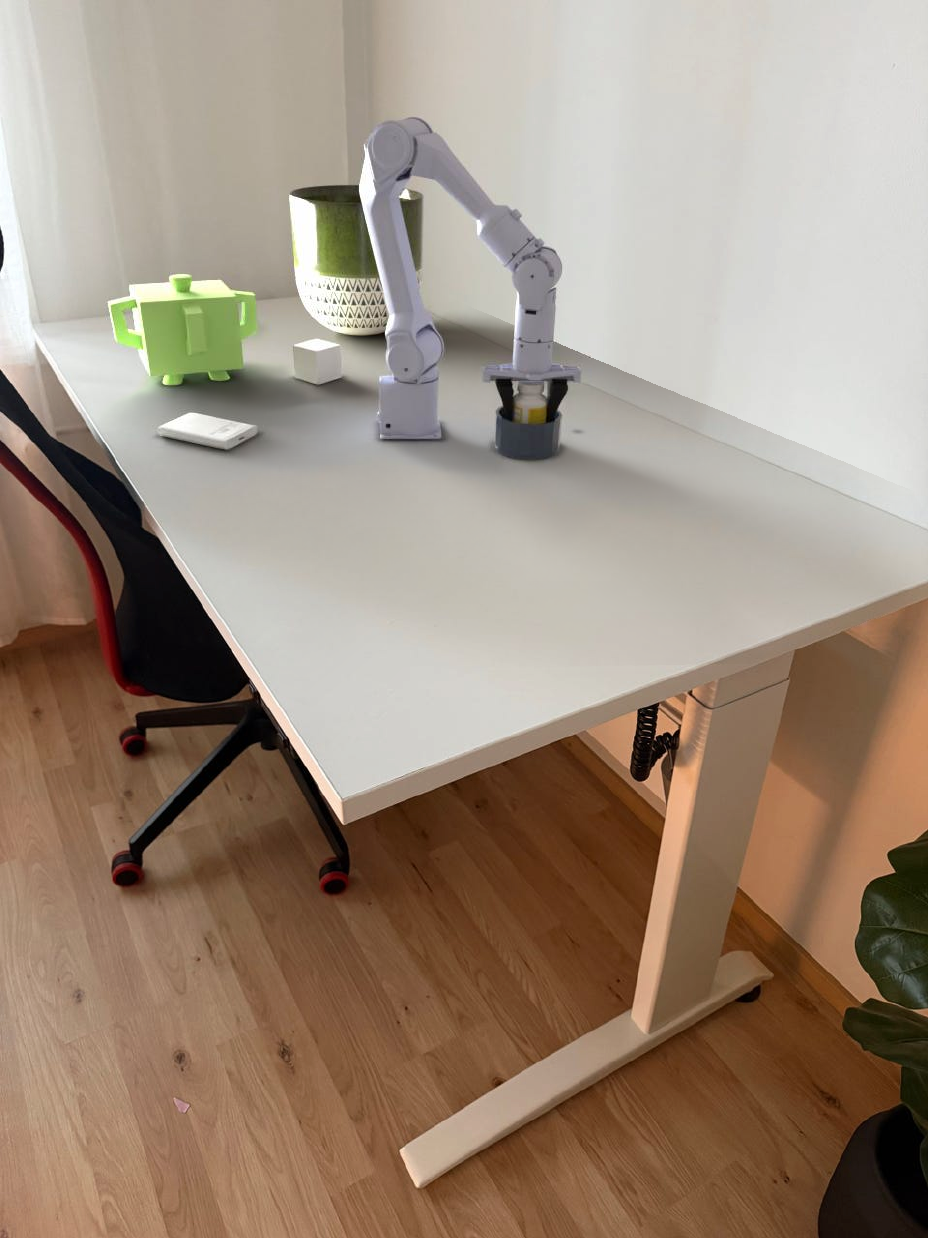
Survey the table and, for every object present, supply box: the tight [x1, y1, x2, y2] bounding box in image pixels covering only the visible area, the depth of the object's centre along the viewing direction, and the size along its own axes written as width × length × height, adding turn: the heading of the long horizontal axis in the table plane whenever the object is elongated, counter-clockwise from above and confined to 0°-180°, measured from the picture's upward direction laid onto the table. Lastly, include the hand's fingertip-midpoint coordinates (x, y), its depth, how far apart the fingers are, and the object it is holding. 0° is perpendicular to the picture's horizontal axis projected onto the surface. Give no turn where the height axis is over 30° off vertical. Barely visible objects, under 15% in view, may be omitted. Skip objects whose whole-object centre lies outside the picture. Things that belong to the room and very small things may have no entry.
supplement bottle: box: [512, 381, 548, 424], centre depth 143 cm, size 5×5×10 cm
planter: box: [288, 184, 425, 336], centre depth 195 cm, size 27×27×27 cm
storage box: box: [107, 273, 259, 386], centre depth 169 cm, size 25×23×17 cm
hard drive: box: [158, 412, 258, 451], centre depth 146 cm, size 2×8×12 cm
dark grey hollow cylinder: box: [493, 405, 563, 461], centre depth 145 cm, size 10×10×6 cm
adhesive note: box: [292, 338, 342, 385], centre depth 172 cm, size 6×6×6 cm
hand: (528, 427), depth 144 cm, fingers closed on supplement bottle, 5 cm apart
